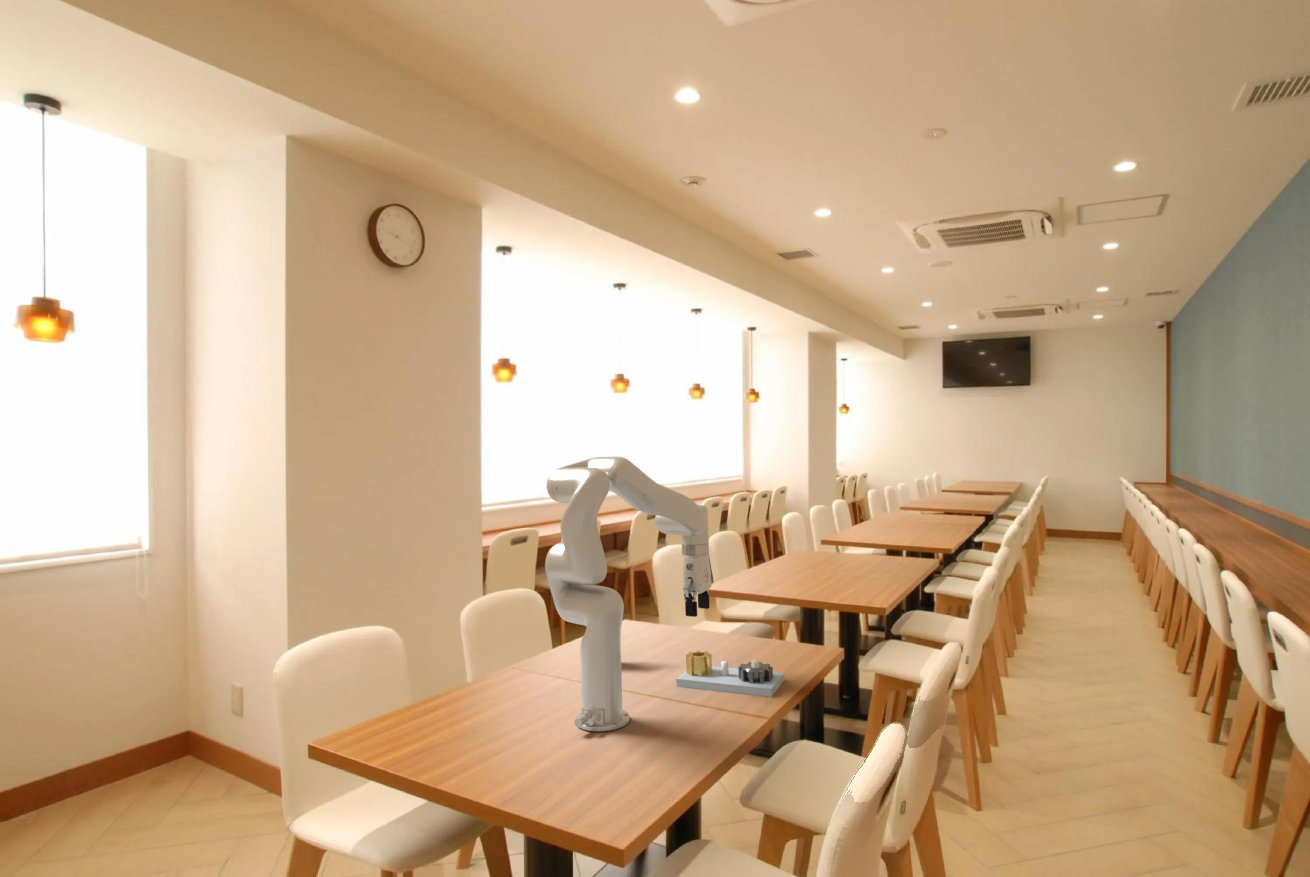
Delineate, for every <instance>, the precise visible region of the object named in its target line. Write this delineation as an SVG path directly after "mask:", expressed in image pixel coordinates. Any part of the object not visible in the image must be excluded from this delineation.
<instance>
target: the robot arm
mask: <svg viewBox="0 0 1310 877" xmlns="http://www.w3.org/2000/svg"><path fill="white" fill-rule="evenodd" d="M546 490H547V494H548V496H549V497H550V498H551V499H552V500H554V502H557V503H559V504H567V506H566V507H565V510H564V511H563V513H562V514H563V515H562V516H561V520H560V524H559V525H560V527H559V528H560V535H561V539H562V541H561V542H558V543H556V544H554V545H552V546H551V548H550V549H549V550H548V551H547V554H546V557H545V562H544V569H545V575H546V579H547V582H548V585H549V589H550V593H551V596H552V599H553V604H554V607H555V609H556V611H557V614H558V615H559V617H560V618H561V619H562V620H563V621H565V622H567V623H572V624H574V625H575V624H576V625H581V626H585V628H586V629H585V632H584V634H583V636H582V639H581V642H580V647H579V648H580V649H579V650H580V651H579V655H580V656H579V657H580V682H581V683H580V684H581V687H580V688H581V712H580V713H578V714H577V716H576V717H575V720H574V726H576V728H579V729H581V730H584V731H590V732H609V731H614V730H618V729H621V728H623V727H625V726H626V725H627V724H629V723H630V719H631V718H630V714H629V712H627V711H626V710H625V709H624V707H623V681H622V680H623V678H622V677H623V676H622V672H623V671H622V650H621V649H622V648H621V644H622V642H621V637H622V635H621V634H622V624H623V618H624V611H625V605H624V604H625V603H624V600H623V598H622V596H621V594H620V593H619V592H618V591H617V590H615V589H614V588H611V587H607V586H602V585H598V584H600V583H602V582H603V581H604V580H605V579H606V577H607V573H608V565H607V559H606V555H605V551H604V547H603V544H602V540H601V536H600V532H599V528H598V517H599V512H600V510H601V507H602V505H603V503H604V502H605V500H606V498H607V496H608V494H609V492H613V493H614V494H615V495H617V496H618V497H620V498H621V499H622V500H623V501H624V502H626V503H627V504H628V505H630V506H631V507H632V508H633V509H635V510H636V511H639V512H641V513H645V514H648V515H652V516H655V518H654V524H655V526H656V529H657V530H658V531H659V532H660V533H663V534H665V535H672V536H681V556H682V557H683V588H682V589H683V596H684V603H685V605H684V608H685V617H692V618H693V617H694V618H695V617H698V609H705V610H706V609H707V610H708V609H710V589H711V587H712V572H711V562H710V541H709V540H710V539H709V514H708V513H709V511H708V508H707V506H706V505H703V504H697V503H696V502H695V501H694V500H693V499H691V498H690V497H688V496H686V495H684V494H682V493H681V492H678V491H676V490H673V489H672V488H669V487H667V486H665V485H663V484H661V483H658V482H656V481H654V480H653V479H652V478H651V477H649V476H648V474H646V473H645V472H644V471H642V470H641V468H639V467H638V466H636V465H635V464H634V463H633V462H631V461H630V460H629V459H628V458H625V457H622V456H601V457H600V456H597V457H591V458H587V459H584V460H581V461H577V462H574V463H571V464H567V465H564V466H560V467H558V468H556V469H555V470H553V471H552V472H551V473H550V475H549V476H548V478H547V481H546ZM696 599H697V600H696Z"/></svg>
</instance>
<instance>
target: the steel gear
mask: <svg viewBox="0 0 1310 877" xmlns="http://www.w3.org/2000/svg"><path fill="white" fill-rule="evenodd" d="M737 668H738V670H739V679H741V681H742V682H745V681H748V682H749V683H751V684H753V683H754V682H759V683H760V684H762V683H764V682H765V681H767V682H770V681H771V679H773V672H774V668H773V666H771V665H770V663H762V661H759V668H752V664H751V661H748V662H747V663H741V664H740V665H738V667H737Z"/></svg>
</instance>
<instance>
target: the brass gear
mask: <svg viewBox="0 0 1310 877" xmlns="http://www.w3.org/2000/svg"><path fill="white" fill-rule="evenodd" d="M687 652H688V653H686V654H685V665H686V668H685V671H687V673H689V675H690V676H693V675H698V677H701V675H710V673H712V666H713V664H712V663H713V661H712V660H713V658H712V653H709V651H707V650H706V651H701V650H696V651H687Z"/></svg>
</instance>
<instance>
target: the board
mask: <svg viewBox="0 0 1310 877" xmlns="http://www.w3.org/2000/svg"><path fill="white" fill-rule="evenodd" d="M750 662H751V664H752V668H759V662H760V661H759V660H757V659H753V660H751V661H750ZM784 681H785V672H782V671H781V672H780V671H773V679H771V681H770V682H767V681H765V682H764V683H762V684H760V683H759V682H754V683H753V684H751V683H749V682H748V681H745V682H742V681H741V679H739V670H738V667H730V666H729V661H727V660H721V661H720V666H718V665H712V673H710V675H701V677H698V675H693V676H690V675H689V673H687V671H686V670H685V671H684V672H683V673H682V674H680V675H679V676H678V677H676V680H675V682H676V683H675V684H676V687H679V688H680V687H681V688H688V689H696V690H697V689H698V690H707V691H713V692H714V691H716V692H726V693H731V694H732V693H734V694H741V693H742V695H743V694H744V695H750V696H751V695H752V696H760V697H762V696H763V697H769V698H770V697H771V698H772V697H773V696H774V695H775V693H776V692H777V690H778V689H779V688H780V687H781V685H782V684H783V683H784Z"/></svg>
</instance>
